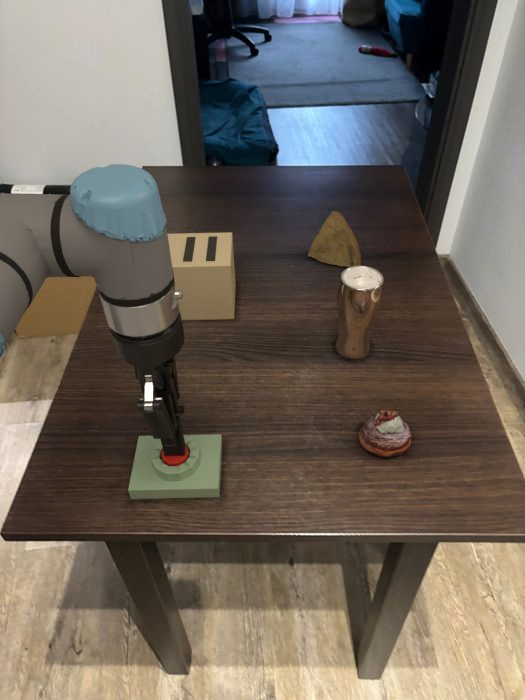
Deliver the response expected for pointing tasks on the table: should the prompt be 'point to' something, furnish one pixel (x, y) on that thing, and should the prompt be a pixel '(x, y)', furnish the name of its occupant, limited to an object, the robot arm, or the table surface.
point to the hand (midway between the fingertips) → (175, 451)
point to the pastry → (385, 435)
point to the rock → (336, 243)
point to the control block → (177, 469)
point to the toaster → (204, 274)
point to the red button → (175, 459)
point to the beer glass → (357, 310)
